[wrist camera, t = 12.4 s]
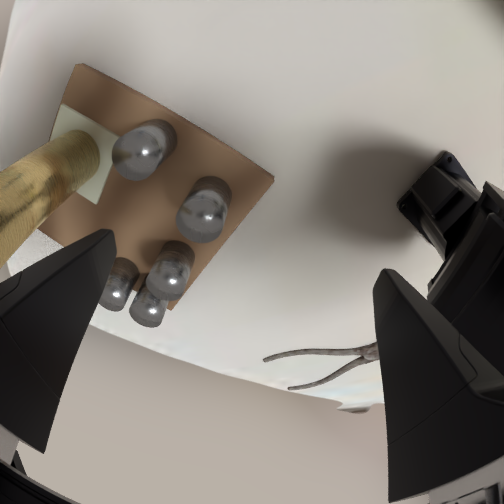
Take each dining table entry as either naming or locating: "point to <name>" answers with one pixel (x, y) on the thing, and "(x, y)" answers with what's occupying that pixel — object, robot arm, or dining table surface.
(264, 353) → the dining table surface
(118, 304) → the spacer posts
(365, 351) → the pliers
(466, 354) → the robot arm
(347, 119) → the dining table surface
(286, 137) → the dining table surface
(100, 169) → the walnut board
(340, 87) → the dining table surface
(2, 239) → the disc
